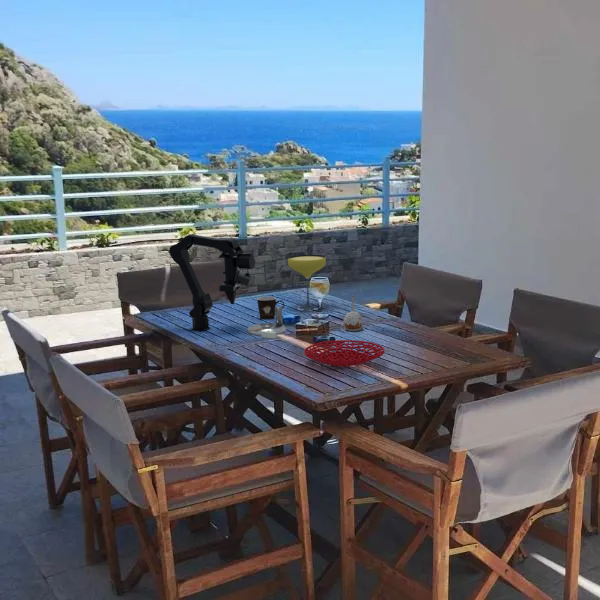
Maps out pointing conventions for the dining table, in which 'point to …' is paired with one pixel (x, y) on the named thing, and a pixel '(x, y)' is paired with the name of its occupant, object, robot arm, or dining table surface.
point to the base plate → (267, 334)
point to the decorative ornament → (353, 319)
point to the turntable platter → (269, 325)
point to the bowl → (344, 353)
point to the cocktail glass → (307, 269)
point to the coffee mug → (267, 307)
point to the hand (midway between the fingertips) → (232, 304)
